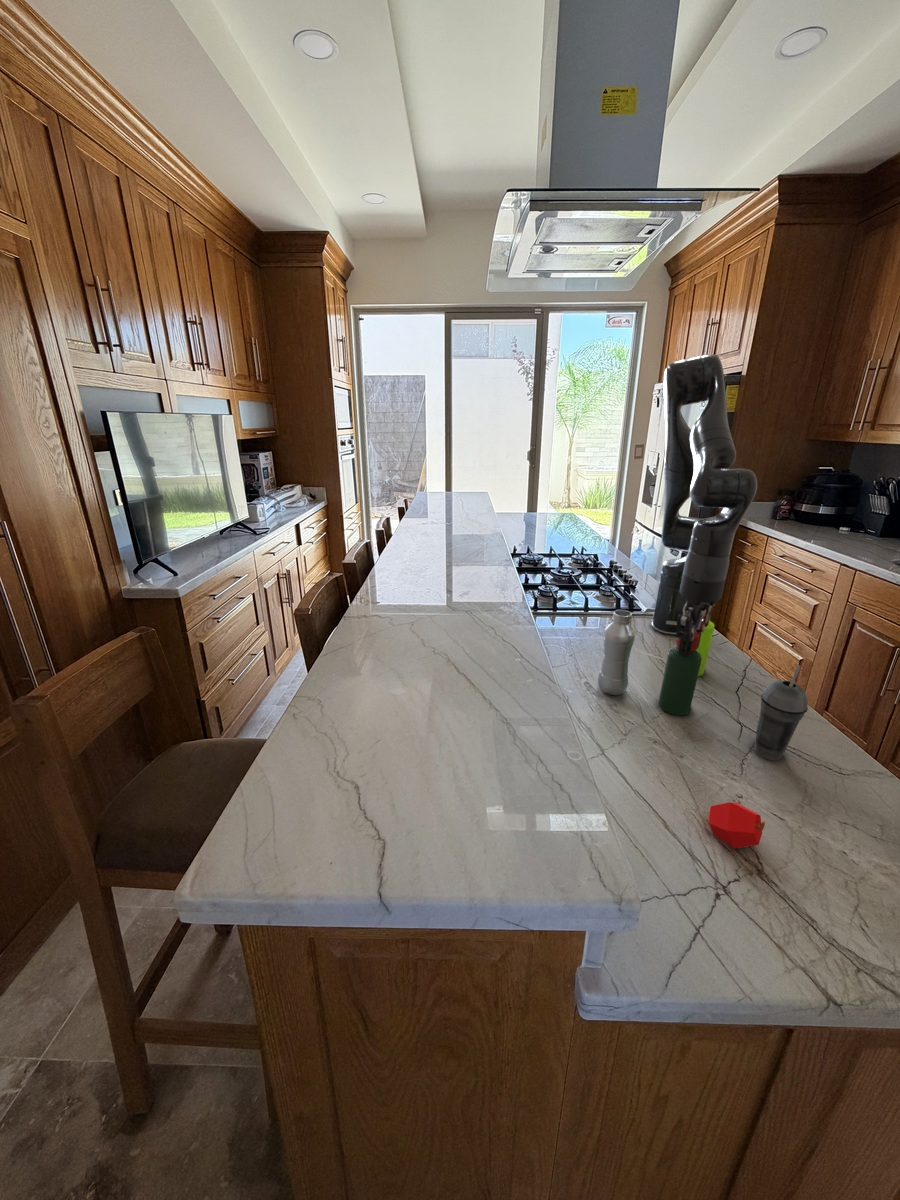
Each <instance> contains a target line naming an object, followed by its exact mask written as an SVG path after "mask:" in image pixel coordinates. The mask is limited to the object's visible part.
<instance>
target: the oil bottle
mask: <svg viewBox="0 0 900 1200" xmlns="http://www.w3.org/2000/svg"><path fill="white" fill-rule="evenodd" d="M678 650H679V648H678V647H677V645H676V646H674V647H671V648H670V649H669V650H668V653H667V657H666V663H665V667H664V668H665V669H664V672H663V677H662V682H661V687H660V693H659V697H658V706H659V707H660V709H661V710H663V711H664V712H666V713H668V714H671V715H675V716H684V715H687V714H689V713H690V712H691V708H692V703H693V699H694V694H695V691H696V686H697V681H698V677H699V676H698V673H699V669H700V664H701V660H702V657H701V655H700V653H698V652H697V651H696V650H695V651H691V654H690V655H689V656H688V657H687V656H684V655H681V654H679V653H678Z"/></svg>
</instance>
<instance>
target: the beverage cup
mask: <svg viewBox="0 0 900 1200" xmlns="http://www.w3.org/2000/svg"><path fill="white" fill-rule="evenodd" d="M800 669H801V665H800V664H797V665H796V667H795V670H794V673H793V675H792V677H791V680H784V679H783V680H781V679H780V680H776V681H774V682H772V683H771V682H770V684H768V685H767V686H766V687H765V689H764V690H763V692H762V693H761V695H760V711H759V717H758V723H757V729H756V734H755V740H754V742H755V743H754V751H755V753H756V754H758V755H759V756H760V757H762V758H764V759H767V760H770V761H779V760H781V759H782V758H783V757H782V756H783V755H784V753H786V750H787V748H788V746H789V744H790V742H791V739H792V737H793V735H794V733H795V731H796V729H797V728H798V727H797V726H798V725H799V723H800V721H801V720H802V719H803V717H804V715H805V713H807V712H808V710H809V709H808V706H809V700H808V696H807V693H806V692H805V690H804V689H803V688H802V687H801V686H800V685H799V684H797V683H795V682H796V678H797V676H798V674H799V671H800Z"/></svg>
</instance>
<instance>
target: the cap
mask: <svg viewBox="0 0 900 1200" xmlns="http://www.w3.org/2000/svg"><path fill="white" fill-rule="evenodd" d="M699 638H700V633H699V632H697V631H696V633H695V636H694V640H693V644H692V649H691V651H695V650H697V647H698V643H699ZM680 640H681V639H680V638H677V639H676V646H677V647H678V648H679V645H680Z"/></svg>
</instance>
